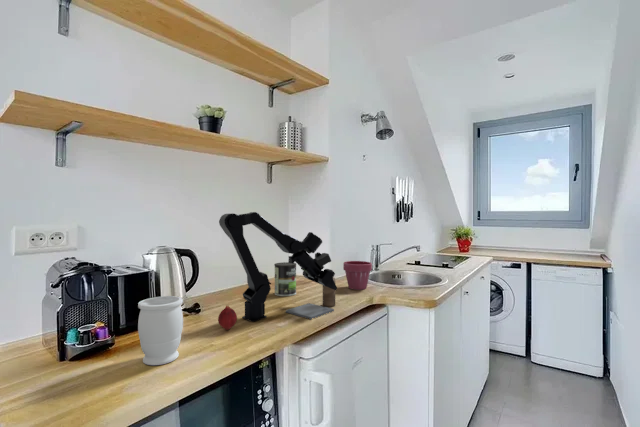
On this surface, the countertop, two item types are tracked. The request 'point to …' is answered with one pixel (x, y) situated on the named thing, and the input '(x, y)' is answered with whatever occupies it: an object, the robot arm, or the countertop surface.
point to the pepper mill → (328, 296)
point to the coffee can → (285, 279)
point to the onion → (227, 318)
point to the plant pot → (357, 274)
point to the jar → (160, 328)
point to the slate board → (309, 310)
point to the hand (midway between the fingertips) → (330, 287)
